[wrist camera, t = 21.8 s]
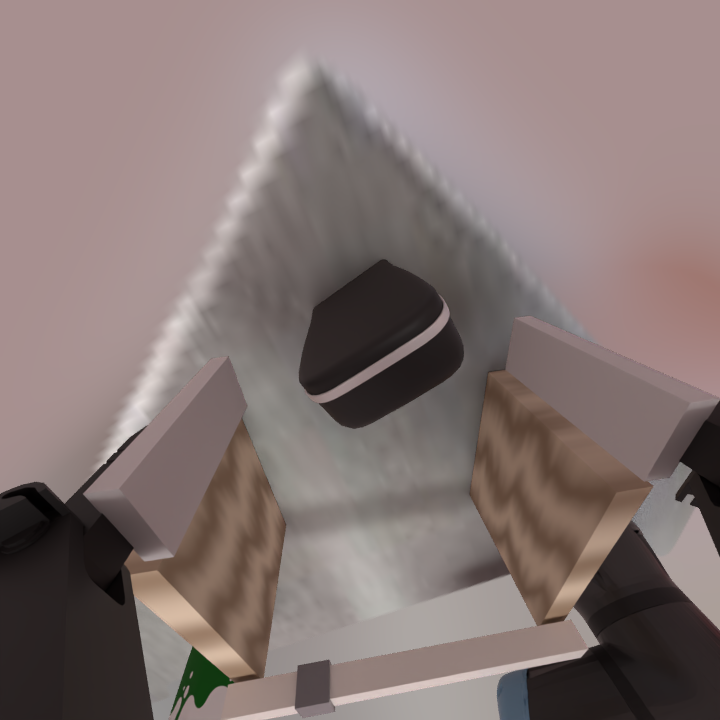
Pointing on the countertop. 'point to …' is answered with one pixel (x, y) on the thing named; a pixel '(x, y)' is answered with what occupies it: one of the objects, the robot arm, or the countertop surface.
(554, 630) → the pale pink long bar
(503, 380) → the wooden stand
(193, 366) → the countertop surface
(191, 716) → the milk carton
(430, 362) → the battery charger
